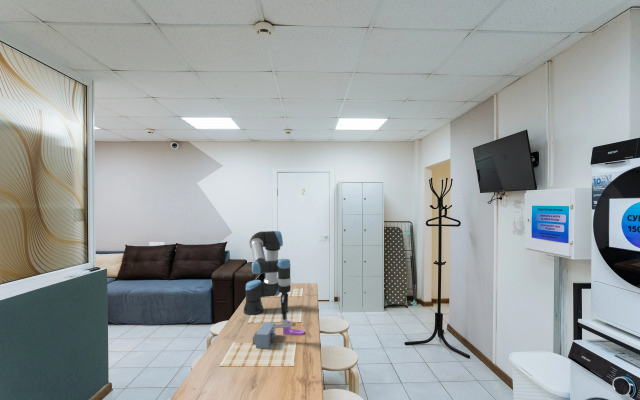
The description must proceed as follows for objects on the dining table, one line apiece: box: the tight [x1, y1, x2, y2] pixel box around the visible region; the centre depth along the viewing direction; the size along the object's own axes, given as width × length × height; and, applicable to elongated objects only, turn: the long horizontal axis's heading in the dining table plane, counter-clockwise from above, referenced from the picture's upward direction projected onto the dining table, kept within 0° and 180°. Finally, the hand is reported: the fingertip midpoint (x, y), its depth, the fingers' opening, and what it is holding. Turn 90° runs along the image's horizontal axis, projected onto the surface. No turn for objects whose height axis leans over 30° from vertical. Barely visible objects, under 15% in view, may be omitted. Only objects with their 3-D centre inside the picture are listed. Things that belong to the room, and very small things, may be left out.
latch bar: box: [272, 322, 297, 329], centre depth 182 cm, size 2×15×2 cm, turn 86°
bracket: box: [282, 320, 305, 336], centre depth 194 cm, size 13×6×7 cm, turn 84°
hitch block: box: [255, 321, 276, 349], centre depth 182 cm, size 18×7×8 cm, turn 176°
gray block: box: [252, 331, 277, 345], centre depth 182 cm, size 8×12×4 cm
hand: (284, 324), depth 182 cm, fingers closed
